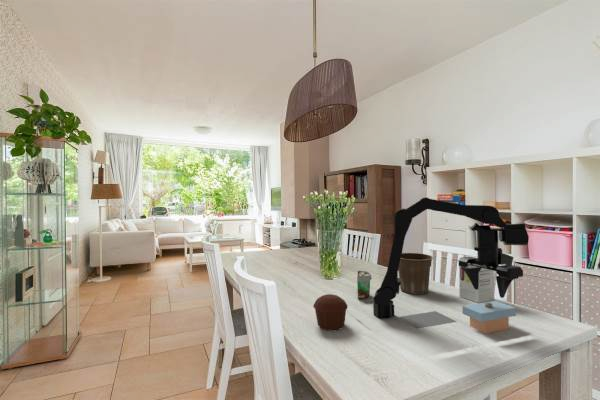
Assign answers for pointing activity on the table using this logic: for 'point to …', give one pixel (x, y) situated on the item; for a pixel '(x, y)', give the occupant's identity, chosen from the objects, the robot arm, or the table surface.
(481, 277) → the supplement box
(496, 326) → the orange open box
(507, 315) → the lid
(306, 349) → the table surface
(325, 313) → the muffin
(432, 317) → the mat
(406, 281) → the plant pot
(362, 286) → the food container
